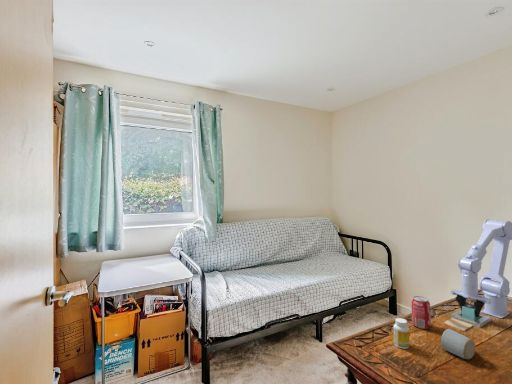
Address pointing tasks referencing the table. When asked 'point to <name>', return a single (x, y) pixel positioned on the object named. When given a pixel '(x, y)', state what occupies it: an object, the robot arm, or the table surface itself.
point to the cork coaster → (458, 324)
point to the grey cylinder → (457, 344)
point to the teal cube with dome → (469, 312)
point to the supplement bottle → (401, 333)
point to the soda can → (421, 312)
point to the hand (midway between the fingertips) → (470, 314)
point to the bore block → (478, 323)
